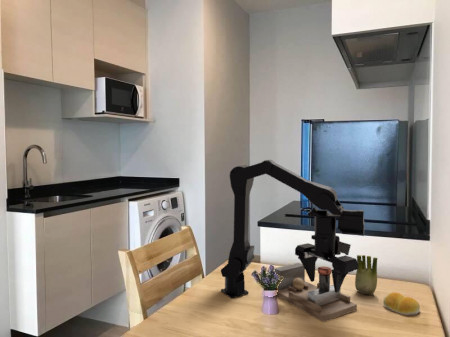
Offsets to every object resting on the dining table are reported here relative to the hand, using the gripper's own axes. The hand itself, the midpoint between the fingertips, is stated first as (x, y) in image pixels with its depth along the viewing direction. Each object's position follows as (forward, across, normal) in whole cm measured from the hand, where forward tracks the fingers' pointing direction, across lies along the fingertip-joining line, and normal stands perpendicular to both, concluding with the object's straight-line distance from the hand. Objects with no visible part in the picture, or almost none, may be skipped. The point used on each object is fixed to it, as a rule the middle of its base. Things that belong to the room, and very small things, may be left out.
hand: (324, 286), depth 104 cm
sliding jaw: (+4, 0, 0) cm, 4 cm away
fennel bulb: (+6, 0, -18) cm, 19 cm away
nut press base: (+6, +4, 0) cm, 7 cm away
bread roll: (+6, -12, -18) cm, 23 cm away
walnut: (+3, +10, 0) cm, 11 cm away
